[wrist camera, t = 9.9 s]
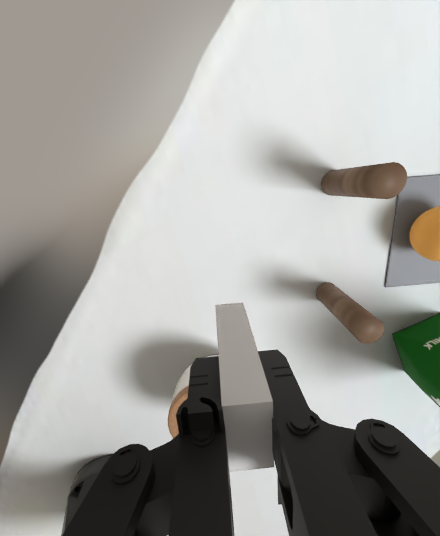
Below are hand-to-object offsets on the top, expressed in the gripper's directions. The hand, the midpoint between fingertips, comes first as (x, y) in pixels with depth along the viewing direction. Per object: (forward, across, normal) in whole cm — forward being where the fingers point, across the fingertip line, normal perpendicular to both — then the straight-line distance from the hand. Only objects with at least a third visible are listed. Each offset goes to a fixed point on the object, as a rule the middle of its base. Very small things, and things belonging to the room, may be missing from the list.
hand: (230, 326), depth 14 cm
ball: (+13, +24, +1) cm, 27 cm away
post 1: (+16, +13, +7) cm, 22 cm away
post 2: (+16, +13, -6) cm, 22 cm away
